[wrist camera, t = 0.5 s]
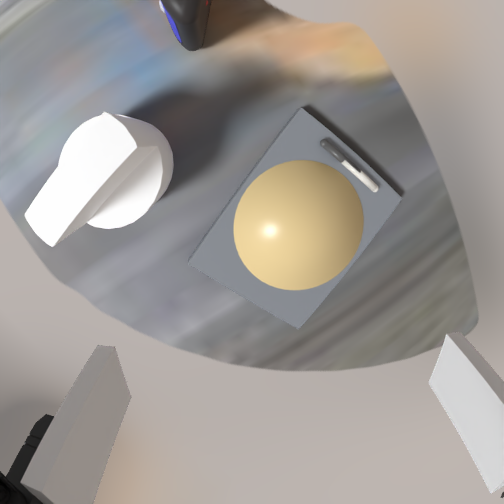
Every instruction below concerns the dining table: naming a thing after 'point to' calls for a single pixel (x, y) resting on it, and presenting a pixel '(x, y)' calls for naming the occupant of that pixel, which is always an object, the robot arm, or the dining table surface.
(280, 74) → the dining table surface
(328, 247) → the plate
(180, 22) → the black two-tone rounded device
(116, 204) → the base with upright slab
